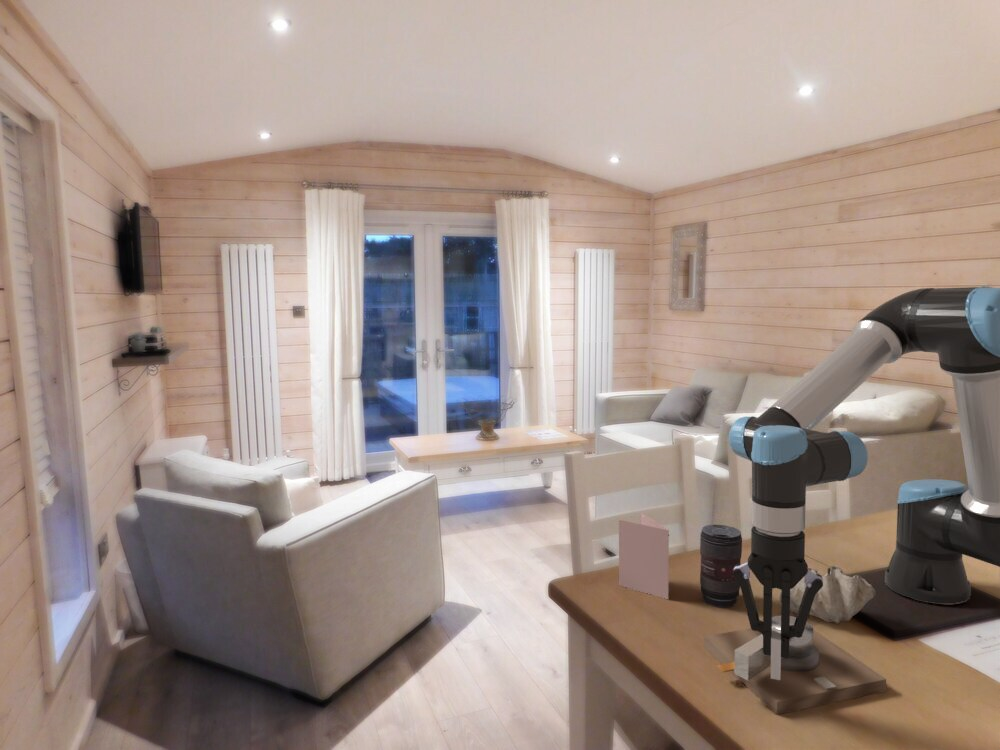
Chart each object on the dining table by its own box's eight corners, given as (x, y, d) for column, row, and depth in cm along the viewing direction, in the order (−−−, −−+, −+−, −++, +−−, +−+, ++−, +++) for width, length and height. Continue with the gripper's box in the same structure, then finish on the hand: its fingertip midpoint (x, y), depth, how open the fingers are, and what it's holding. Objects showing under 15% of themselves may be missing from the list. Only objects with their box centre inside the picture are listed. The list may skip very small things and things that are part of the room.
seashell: (857, 641, 120) (859, 588, 118) (776, 613, 130) (777, 565, 129) (877, 621, 126) (879, 571, 125) (798, 596, 137) (799, 550, 136)
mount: (799, 629, 124) (799, 612, 124) (885, 690, 105) (886, 670, 104) (688, 649, 118) (688, 631, 118) (758, 718, 99) (759, 696, 99)
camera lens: (743, 610, 132) (745, 538, 130) (701, 607, 134) (702, 536, 132) (737, 592, 140) (739, 524, 138) (698, 590, 141) (698, 522, 140)
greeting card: (672, 599, 138) (672, 529, 136) (640, 604, 136) (639, 534, 134) (645, 577, 149) (644, 512, 147) (614, 582, 147) (614, 516, 145)
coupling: (781, 631, 116) (781, 609, 116) (820, 647, 111) (821, 625, 110) (721, 667, 106) (722, 643, 105) (761, 687, 100) (762, 662, 100)
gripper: (824, 524, 101) (820, 670, 104) (734, 516, 107) (733, 655, 109) (826, 541, 95) (822, 696, 97) (730, 531, 100) (729, 679, 102)
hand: (775, 674), depth 103 cm, fingers closed
